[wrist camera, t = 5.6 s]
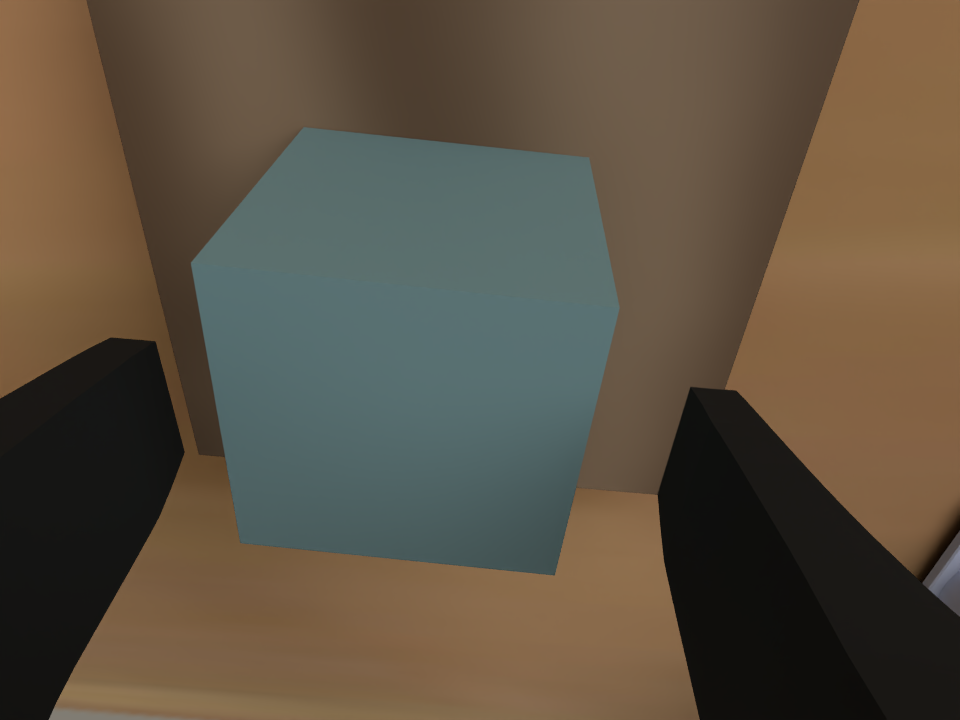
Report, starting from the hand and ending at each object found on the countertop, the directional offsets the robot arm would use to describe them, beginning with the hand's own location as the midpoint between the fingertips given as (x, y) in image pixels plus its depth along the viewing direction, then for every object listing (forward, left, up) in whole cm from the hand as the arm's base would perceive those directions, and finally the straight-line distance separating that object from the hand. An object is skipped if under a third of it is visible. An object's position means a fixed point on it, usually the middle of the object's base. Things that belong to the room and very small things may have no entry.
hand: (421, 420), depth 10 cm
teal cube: (0, 0, -5) cm, 5 cm away
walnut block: (0, 0, -9) cm, 9 cm away
